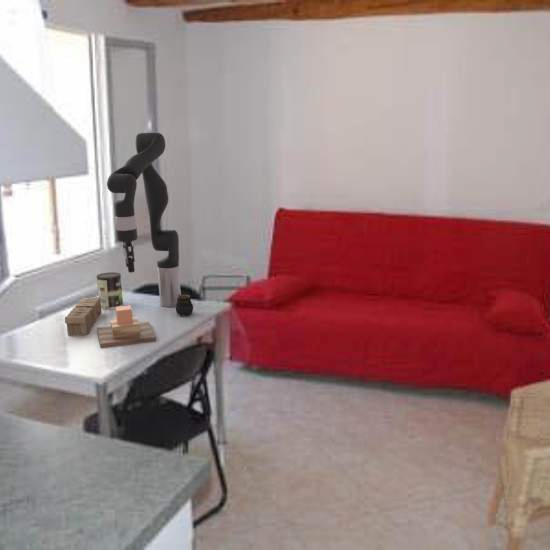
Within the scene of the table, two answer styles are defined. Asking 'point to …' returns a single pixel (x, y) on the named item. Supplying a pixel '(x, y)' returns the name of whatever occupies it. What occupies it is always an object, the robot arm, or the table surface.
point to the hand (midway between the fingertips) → (130, 269)
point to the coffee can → (110, 290)
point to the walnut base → (126, 339)
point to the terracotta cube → (124, 315)
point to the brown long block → (83, 316)
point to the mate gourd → (184, 305)
